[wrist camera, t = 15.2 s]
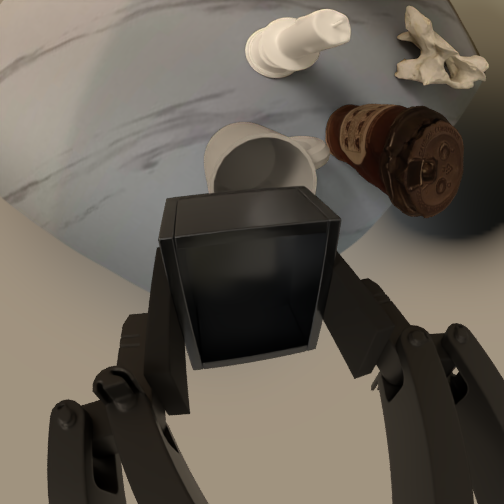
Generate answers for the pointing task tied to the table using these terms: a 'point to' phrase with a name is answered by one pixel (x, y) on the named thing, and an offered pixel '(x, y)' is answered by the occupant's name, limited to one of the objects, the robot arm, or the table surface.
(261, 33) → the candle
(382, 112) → the coffee cup
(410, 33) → the bone
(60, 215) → the table surface
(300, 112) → the table surface
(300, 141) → the cup
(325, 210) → the tray
